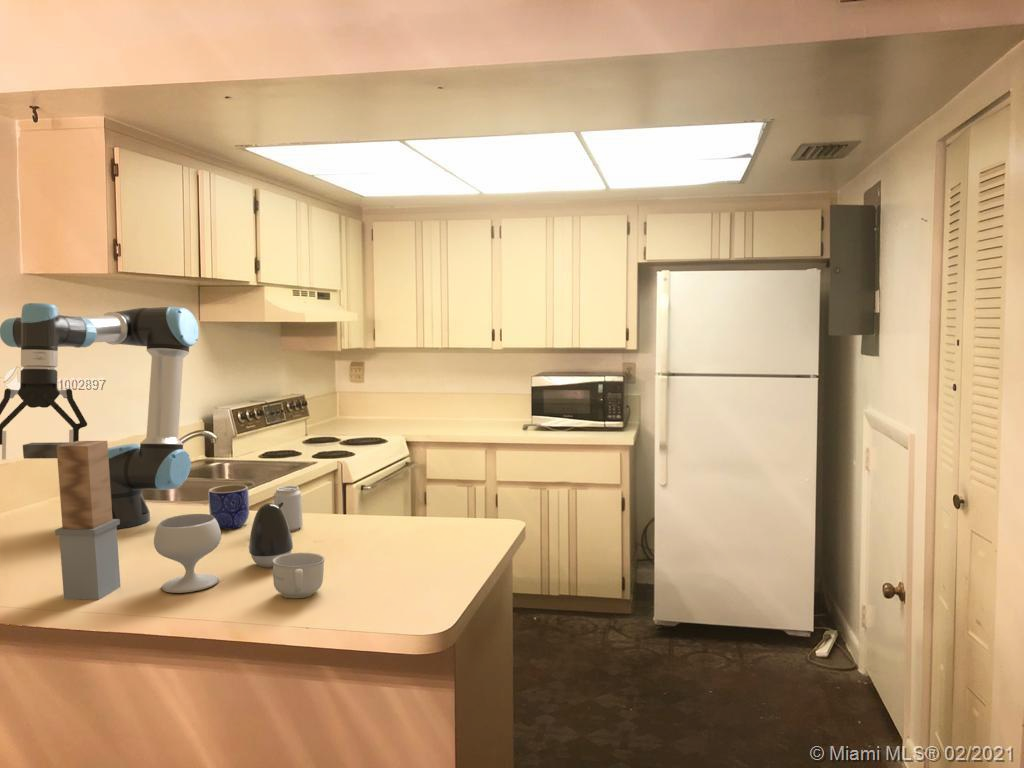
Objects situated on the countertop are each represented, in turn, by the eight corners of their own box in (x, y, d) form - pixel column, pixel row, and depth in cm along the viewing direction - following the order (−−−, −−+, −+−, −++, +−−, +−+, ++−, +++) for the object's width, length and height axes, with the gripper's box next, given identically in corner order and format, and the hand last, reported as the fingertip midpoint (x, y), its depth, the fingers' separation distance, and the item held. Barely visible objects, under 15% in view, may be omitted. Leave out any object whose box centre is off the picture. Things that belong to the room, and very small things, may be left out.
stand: (60, 599, 169) (55, 529, 168) (86, 585, 178) (81, 518, 176) (99, 600, 168) (94, 530, 167) (123, 586, 177) (119, 519, 176)
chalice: (196, 571, 186) (193, 509, 185) (236, 580, 179) (233, 516, 178) (143, 589, 174) (139, 524, 173) (184, 600, 167) (179, 531, 166)
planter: (258, 524, 228) (256, 486, 228) (226, 533, 219) (224, 494, 218) (233, 519, 234) (231, 483, 233) (202, 528, 225) (200, 490, 224)
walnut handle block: (22, 528, 169) (15, 446, 168) (44, 519, 176) (38, 441, 175) (93, 528, 168) (87, 446, 166) (112, 520, 175) (107, 440, 173)
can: (295, 533, 218) (293, 490, 217) (270, 532, 220) (268, 490, 219) (307, 525, 225) (305, 485, 224) (283, 525, 227) (281, 484, 226)
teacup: (279, 586, 175) (278, 551, 174) (329, 584, 176) (327, 549, 175) (265, 609, 161) (263, 571, 160) (319, 607, 162) (317, 569, 161)
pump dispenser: (302, 559, 194) (299, 499, 193) (276, 572, 184) (273, 509, 183) (267, 556, 197) (264, 497, 196) (241, 568, 188) (237, 506, 186)
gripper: (-26, 366, 176) (-27, 461, 175) (99, 369, 189) (98, 456, 189) (-24, 367, 182) (-25, 459, 182) (97, 370, 195) (96, 454, 195)
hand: (38, 458), depth 185 cm, fingers open, 13 cm apart
